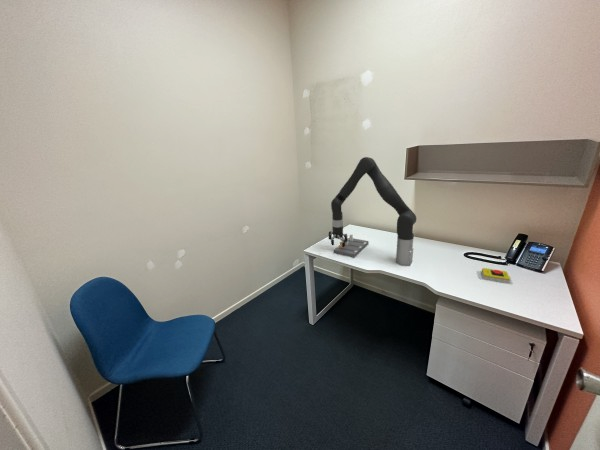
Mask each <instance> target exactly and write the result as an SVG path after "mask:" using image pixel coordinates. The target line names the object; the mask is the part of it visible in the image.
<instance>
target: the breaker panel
mask: <svg viewBox="0 0 600 450" xmlns="http://www.w3.org/2000/svg"><path fill="white" fill-rule="evenodd" d="M353 235H354V234H349V237H347V238H348V241H347V242H346V243H345V247H344V248H343V249H342V248H340V244H339V245H337V247H335V248H334V249H333V254H335V255H341V256H345V257H349V258H353V259H355V258H356V257H357V256H358V255H359V254H360V253H361V252H362V251H363V250H364V249H365V248H366V247H367V246H368V245H369V242H370V241H369V240H365V239H359V238H354V236H353Z"/></svg>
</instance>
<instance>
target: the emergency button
mask: <svg viewBox="0 0 600 450" xmlns="http://www.w3.org/2000/svg"><path fill="white" fill-rule="evenodd" d="M476 274H477V278H478V280H483V281H490V282H495V283H501V284H502V283H503V284H507V285H513V281H512V279H511V276H509V274H508V271H506V270H500V269H493V268H486V267H482V269H481V270H477V271H476Z"/></svg>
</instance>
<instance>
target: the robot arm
mask: <svg viewBox="0 0 600 450" xmlns="http://www.w3.org/2000/svg"><path fill="white" fill-rule="evenodd" d="M365 175H368V177H369V178H370V179H371V180H372V183H373V185H374V188H375V190H376V192H377V193H378V195H379V196H380V197H381V199H382V200H383V201H384V202H385V203H386V204H388V205H389V206H390V207H392V209H394V210H395V212H397V214H398V215H399V216H398V217H397V218H396V219H397V221H396V235H397V241H396V254H395V262H396V264H398V265H400V266H411V265H412V263H413V257H414V248H413V247H414V246H413V245H414V237H415V236H414V235H415V234H414V233H413V231H414V230H413V227H414V225H415V223H416V222H417V216H416V213H414V211H413V210H412V209H411V208H410V207H409V206H408V205H407V204H406V202H405V201H404V200H403V198H402V197H401V196H400V194H399V193H398V191H397V190H396V189H395V188H394V186H393V184H392V183H391V182H390V181H389V180H388V179H387V177H386V176H385V174H383V173H382V171H381V170H380V168H379V166H378V164H377V162H376V161H375V159H374V158H372V157H369V156H364V157H361V159H360V160H359V161H358V163H357V165H356V166H355V169H354V171H353V172H352V174H351V175H350V176H349V178H348V180H347V181H346V182H345V184H343V186H342V187H341V189H340V190H339V191H338V193H337V194H336V196H334V198H333V199H332V201H331V202H330V203H331V205H330V207H331V213H332V221H331V222H332V224H331V225H332V226H331V228H332V230H330V231H328V240H330V244H331V246H334V245H335V240H334V239H337V240H340V242H343V243H342V247H345V243H346V242H347V241H348V238H349V237H348V233H344V221H343V220H344V219H343V218H344V217H343V212H342V206H343V204H344V202H345V201H346V200H347V199H348V197H350V196H351V194H352V193H353V191H354V190H355V189H356V187H357V185H358V183H359V182H360V181H361V179H362V178H363V177H364V176H365Z"/></svg>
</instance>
